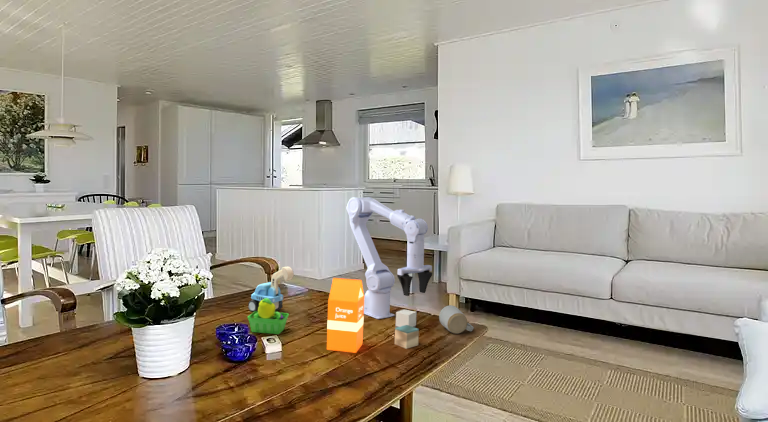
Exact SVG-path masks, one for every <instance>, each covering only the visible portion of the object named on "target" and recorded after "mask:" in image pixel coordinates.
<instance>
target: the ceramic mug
mask: <svg viewBox="0 0 768 422" xmlns="http://www.w3.org/2000/svg"><path fill="white" fill-rule="evenodd" d="M438 315H439V316H438V319H439V320H438V321H439V323H440V324H441V325H442V326H443V327H444V328H445V329H446V330H447V331H449V332H450V333H451V334H455V335H456V334H457V335H458V334H462V333H464V331H465V330H466V331H469V332H473V330H474V326H473V325H472V324H470V323H469V322H468V320H467V317H466V315H465V313H463V312H462V311H461V310H460V309H459V308H458V307H457V306H455V305H452V304H451V305H446V306H444V307H443V308H442V309H441V310H440V312H439V314H438Z"/></svg>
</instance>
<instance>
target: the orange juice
mask: <svg viewBox="0 0 768 422" xmlns="http://www.w3.org/2000/svg"><path fill="white" fill-rule="evenodd" d="M330 286H331V287H330V292H329V296H328V300H327V321H326V322H327V325H326V329H327V330H326V350H327V351H338V352H345V353H346V352H347V353H354V354H357V352H358V351H359V350H360V348H361V347H362V345H363V340H364V338H363V337H364V319H365V318H364V317H365V314H364V296H365V294H364V293H365V292H364V287H363V281H362V279H353V278H342V277H341V278H340V277H332V283H331V285H330Z"/></svg>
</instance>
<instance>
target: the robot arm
mask: <svg viewBox="0 0 768 422" xmlns="http://www.w3.org/2000/svg"><path fill="white" fill-rule="evenodd" d="M345 208H346V212H347V214H348V216H349V217H348V218H349V226H350V228H351V231H352V233H353V235H354V239H355V241H356V243H357V245H358V248H359V250H360V253H361V255H362V258H363V260H364V262H365V265H366V267H367V268H366V271H365V273H364V277H365V279H366V286H367V288H368V289H367V290H366V291H365V292H364V293H365V294H364V315H366V316H369V317H372V318H374V319H376V320H380V319H385V318H391V317H396V314H394V313H392V312H390V309H391V307H390V305H391V291H392V288H393V286H395V283H396V282H395V281H396V278H395V275H394V274H393V273H392V271H391V270H390V269H389V266H387V265H386V264H384V263H383V262H382V260H381V257H380V255H379V253H378V250H377V249H376V245H375V243H374V241H373V239H372V236H371V234H370V231H369V230H368V227H367V222H368V221H369V220H370V218H371V217H372V215H373V214H374V213H375V214H378V215H380V216H381V217H383V218H387V220H389V223H390V224H391V225H392V226H394V227H396V228H398V229H400V230H402V231H403V232H404V233H405V235H406V240H407V244H406V266H403V267H401V268H398V269H397V274H396V275H397V279H398V281H399V282H400V285H401V287H402V288H401V290H402V294H403V296H405V297H410V295H411V294H410V293H411V284H412V280H413V278H414V277H413V276H412V274H416V275H417V277H418V288H419V289H418V290H419V292H420V293H422V294H425V293H426V291H427V287H428V284H429V281H430V280H431V278H432V276H433V272H432V271H433V265H430V264H425V261H424V260H425V259H424V258H425V235H426V233H428V229H429V227H428V223H427V222H426V221H425V220H424V219H423V218H421V217H420V218H416V216H415V215H409V214H408V213H406V212H405V209H403V208H402V209H395V210H393V209H392V208H390V207H388V206H386V205H385V204H383V203H381V202H379V201H378V200H377V199H376V198H373V197H371V196H370V197H369V196H367V197H356V196H353V197H350V199H349V200H348V202H347V205H346V207H345ZM424 264H425V265H424Z"/></svg>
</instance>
